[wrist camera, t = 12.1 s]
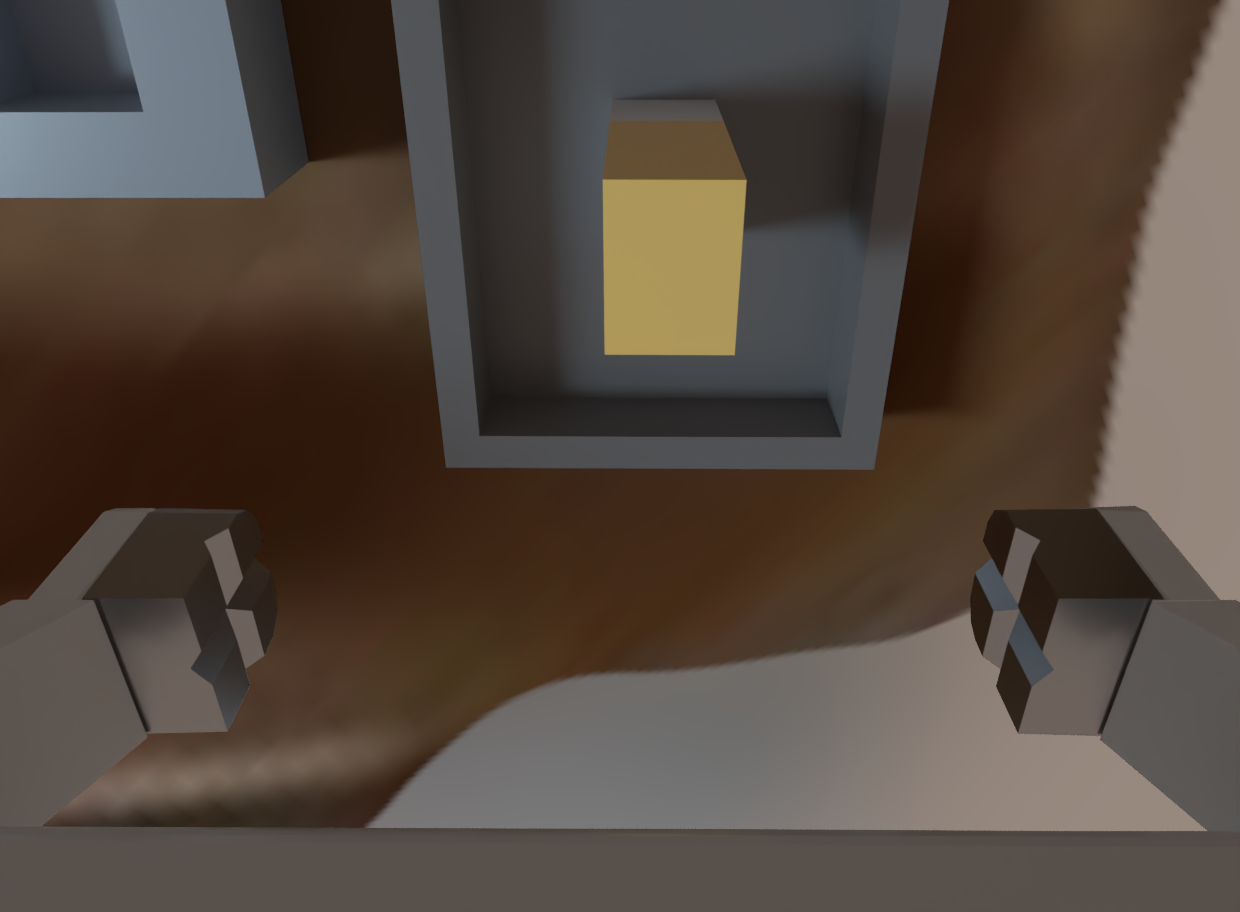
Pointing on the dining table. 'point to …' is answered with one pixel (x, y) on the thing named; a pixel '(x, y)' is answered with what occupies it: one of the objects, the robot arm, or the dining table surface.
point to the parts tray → (573, 222)
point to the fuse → (671, 229)
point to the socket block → (146, 99)
